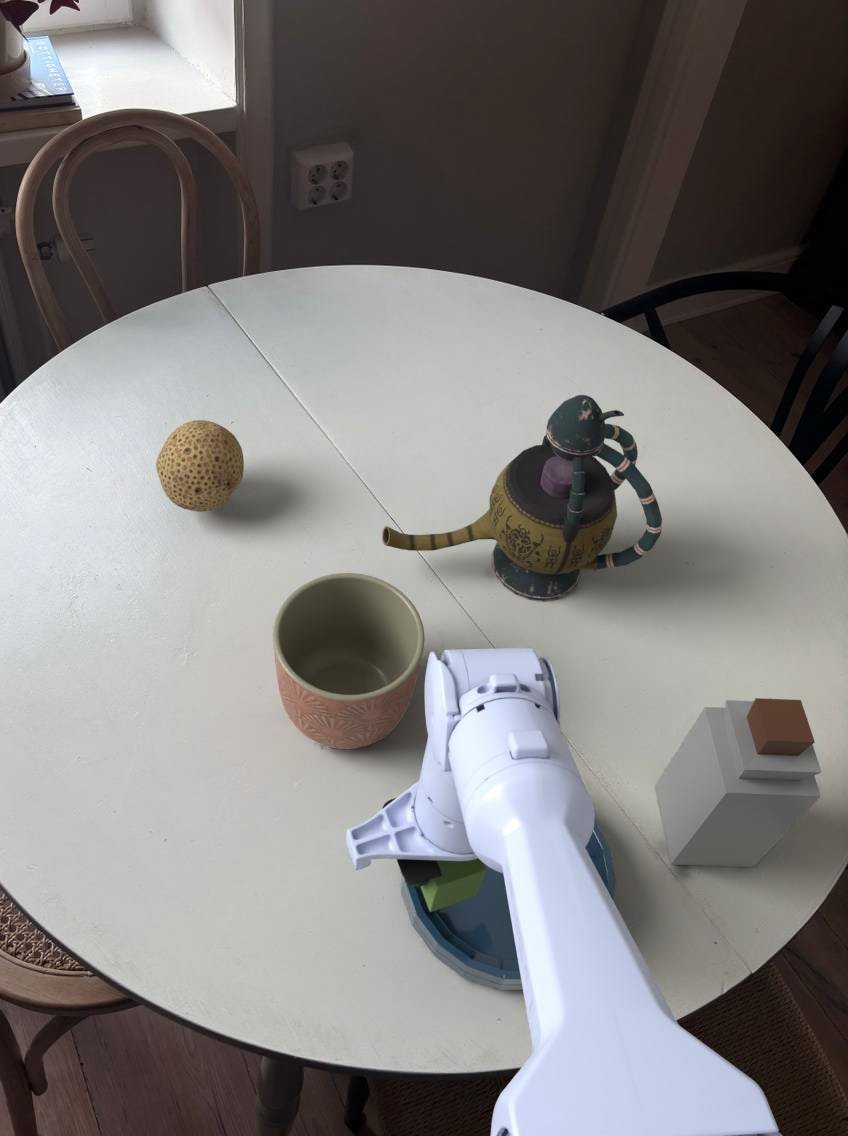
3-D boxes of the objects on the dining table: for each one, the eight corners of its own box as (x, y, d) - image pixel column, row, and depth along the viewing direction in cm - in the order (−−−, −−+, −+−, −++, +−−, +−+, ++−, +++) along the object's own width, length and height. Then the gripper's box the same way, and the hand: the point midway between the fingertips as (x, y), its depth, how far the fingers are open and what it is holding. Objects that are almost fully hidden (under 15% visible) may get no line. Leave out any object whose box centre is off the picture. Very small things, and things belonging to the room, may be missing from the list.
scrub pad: (476, 896, 67) (486, 870, 63) (429, 912, 66) (437, 887, 62) (449, 830, 70) (458, 802, 66) (404, 845, 69) (410, 817, 65)
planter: (393, 781, 79) (403, 718, 71) (255, 741, 81) (250, 675, 73) (427, 661, 87) (439, 592, 79) (301, 627, 89) (301, 557, 81)
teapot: (635, 611, 93) (711, 445, 75) (384, 617, 90) (403, 448, 73) (606, 518, 101) (669, 349, 83) (375, 522, 99) (390, 350, 81)
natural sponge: (251, 528, 97) (247, 462, 90) (164, 539, 96) (152, 472, 88) (241, 466, 103) (236, 398, 96) (159, 475, 102) (147, 407, 94)
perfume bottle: (752, 867, 76) (848, 767, 63) (670, 864, 76) (749, 763, 62) (732, 788, 81) (817, 679, 67) (654, 785, 80) (724, 675, 67)
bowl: (641, 950, 71) (654, 935, 69) (445, 1024, 67) (451, 1012, 65) (548, 761, 81) (556, 742, 79) (372, 815, 77) (374, 797, 75)
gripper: (545, 690, 61) (511, 782, 71) (333, 754, 57) (329, 841, 67) (598, 789, 56) (553, 872, 66) (371, 864, 53) (360, 940, 63)
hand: (443, 863), depth 67 cm, fingers closed on scrub pad, 3 cm apart
